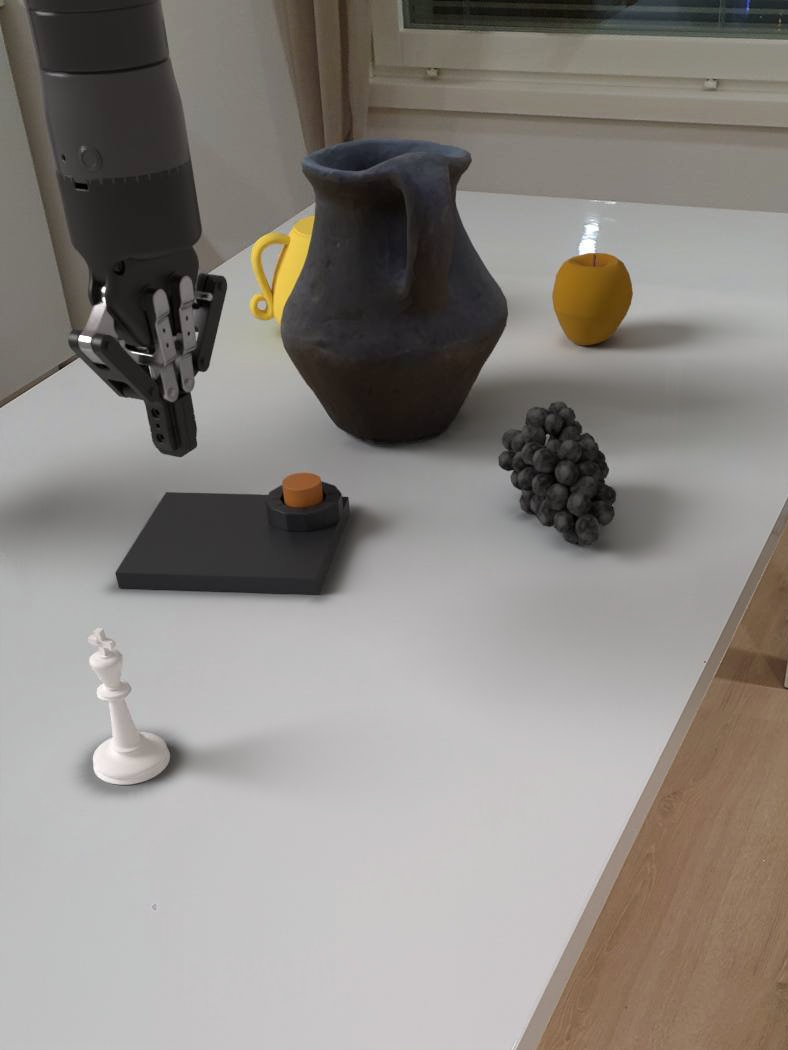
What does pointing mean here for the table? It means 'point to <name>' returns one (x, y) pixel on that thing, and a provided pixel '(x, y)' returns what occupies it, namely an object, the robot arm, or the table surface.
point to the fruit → (560, 473)
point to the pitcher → (391, 291)
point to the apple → (591, 297)
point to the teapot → (280, 268)
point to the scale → (236, 543)
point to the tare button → (302, 490)
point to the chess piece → (122, 724)
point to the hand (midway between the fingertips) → (177, 451)
